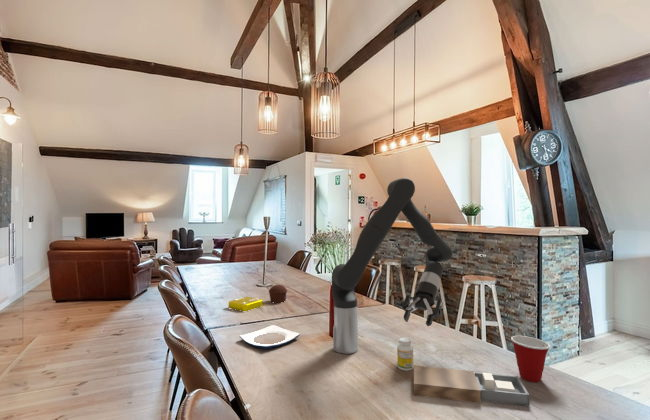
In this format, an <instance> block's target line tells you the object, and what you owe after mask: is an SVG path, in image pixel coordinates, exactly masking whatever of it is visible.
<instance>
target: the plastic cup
mask: <svg viewBox="0 0 650 420" xmlns="http://www.w3.org/2000/svg"><path fill="white" fill-rule="evenodd" d="M510 337H511V341H512V345H513V349H514V354H515V360H516V364H517V368H518V373H519V376H520V377H519V378H521V379H522V380H523V381H526V382H530V383H539V382H541V381H542V378H543V371H544V368H545V362H546V358H547V357H546V356H547V354H548V351H549V349H551V345H550V344H549V343H548V342H547V341H544V340H541V339H539V338H536V337H532V336H525V335H514V336H510Z"/></svg>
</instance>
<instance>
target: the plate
mask: <svg viewBox="0 0 650 420" xmlns="http://www.w3.org/2000/svg"><path fill="white" fill-rule="evenodd" d="M267 333H278V334H282V335H284V336H285V340H283V341H281V342H278V343H274V344H260V343H256V342H254V338H255V337H257V336H259V335H263V334H267ZM300 335H301V333H300V332H297V331H296V332H295V331H292V330H289V329H285V328H282V327H280V326H278V325H275V324H271V325H269V326H267V327H264V328H261V329H259V330H256V331H252V332H249V333H248V332H247V333H245V334H240V335H239V338H240V339H241V340H242V341H243V342H245V344H248V345H250V346H253V347H255V348H259V349H265V350H267V349H272V347H273V348H278V347H279V346H280V345H281V346H283V344H284V345H286V344H287V343H290V342H292V341H294V340H296V339H297V338H299V336H300ZM281 346H280V347H281Z"/></svg>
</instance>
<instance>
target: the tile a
mask: <svg viewBox="0 0 650 420" xmlns="http://www.w3.org/2000/svg"><path fill="white" fill-rule="evenodd" d="M481 373H482V386H483V389H488V390H495V385H494V378H493V376H492V374H493V373H492V372H481Z"/></svg>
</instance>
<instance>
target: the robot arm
mask: <svg viewBox="0 0 650 420" xmlns="http://www.w3.org/2000/svg"><path fill="white" fill-rule="evenodd" d="M386 191H387V195H388V197H387V199H386V201H385V202H384V203H383V205H381V206H380V208H379V209H377V211H376V212H374V214H373V215H371V217H370V218H369V219H368V220H367V222H366V224H364V227H362V230H361V232H360V233H359V235H358V239H357V242H356V245H355V249H354V251H353V253H352V254H351V256H350V258H349V259H348V260H347V262H346V263H340V264H337V265H336V266H335V267H333V269H332V273H331V291H332V292H331V294H332V300H333V316H334V317H333V320H334V323H333V327H332V328H333V329H332V330H333V331H332V336H333V337H332V339H333V340H332V341H333V342H332V343H333V344H332V345H333V352H337V353H338V354H345V355H346V354H354V353H356V352H358V351H359V329H358V327H359V319H358V314H359V313H358V299H357V296H356V293H355V287H356V286H357V285H358V284H359V282H360V280H361V279H362V276H363V275H364V272H365V271H366V268H367V266H368V265H369V263H370V261H371V260H372V258H373V256H374V255H375V254H376V253H377V251H378V249H379V248H380V246H381V245H382V243H383V242H384V240H385V238H386V236H387V235H388V233H389V232H390V230H391V229H392V226H393V225H394V223H395V222H396V220H397V219H398V216H399V215H400V213H402V214H403V215H404V217H405V218H406V220H407V221H408V222H409V223H410V225H411V227H412V228H413V230H414V231H415V232H416V235H417V236H418V238H419V239H420V241H421V242H422V244H423V245H428V246H430V247H429V248H428V249H427V250H426V253H425V267H424V270H423V273H422V274H421V277H420V279H419V282H418V285H417V287H416V290H415V295H414V296H410V294H406V296H405V299H404V301H403V303H402V306H401V308H402V310H403V312H404V314H403V319H404V321H405V322H406V323H408V322H409V319H410V316H411V313H412V312H414V311H416V310H420V311H421V310H423V311H427V312H428V313H429V314H427V315H428V316H427V319H426V321H425V324H426V327H430V326H431V325H432V324H433V321H434V318H440V317H441V312H442V308H443V303H442V300H441V299H437V300H436V298H437V295H438V291H439V289H440V283H441V279H442V275H443V272H444V267H443V265H442V264H441V263H442V262H448V261H450V260H451V259H452V257H453V250H452V248H451V246H450V245H449V243H448V242H446V240H444V239H443V237H441V235H439V234H438V233H437V230H435V228H434V226H433V224H432V223H431V221H429V219H428V218H427V217H426V216H425V215H424V213H422V212H421V211H420V210H419V209H418V208H417V206H416V205H415V204H414V202H413V200H412V198H413V196H414V194H415V192H416V186H415V183H414V181H413V180H412V179H410V178H408V177H400V178H397V179H395V180H393V181H391V182H390V183H389V184H388V186H387V190H386ZM434 305H435V310H434V311H433V309H432V307H434Z"/></svg>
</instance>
